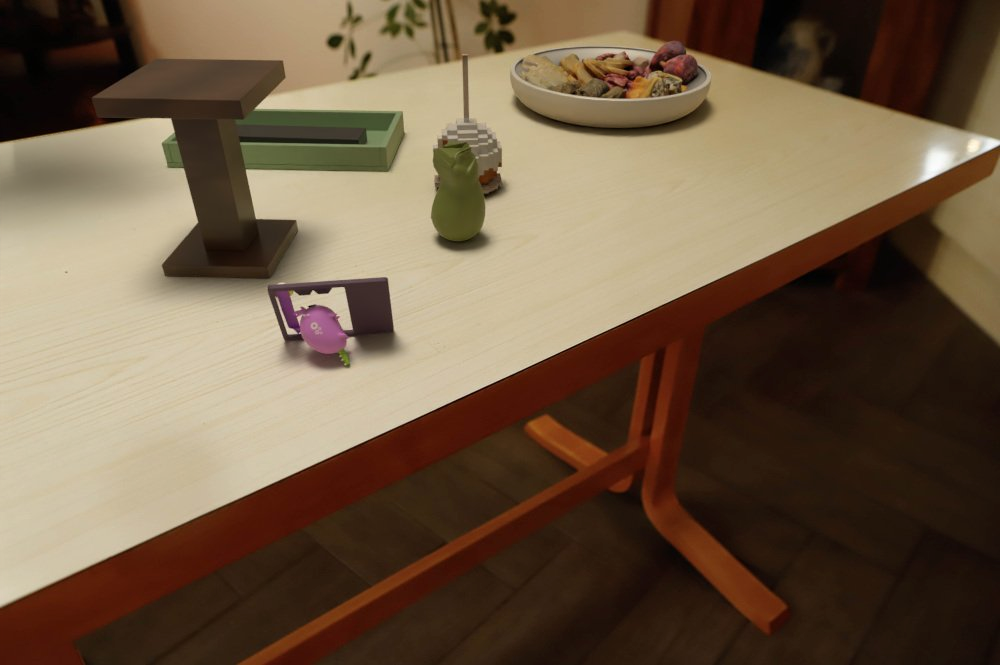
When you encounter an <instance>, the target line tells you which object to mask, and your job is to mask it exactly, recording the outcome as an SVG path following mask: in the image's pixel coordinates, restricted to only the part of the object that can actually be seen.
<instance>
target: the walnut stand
mask: <svg viewBox="0 0 1000 665" xmlns="http://www.w3.org/2000/svg"><path fill="white" fill-rule="evenodd" d="M286 78H287V77H286V72H285V65H284V60H283V59H281V60H278V59H277V60H276V59H217V58H216V59H215V58H214V59H212V58H211V59H208V58H201V59H200V58H155V59H153V60H151V61H150V62H148V63H147V64H145V65H143V66H142V67H140V68H138V69H136V70H134V71H133V72H131V73H130V74H128V75H126V76H125V77H123V78H121V79H119V80H118V81H117V82H115V83H113V84H112V85H110V86H109V87H106V88H105V89H103V90H102V91H100V92H98V93H96V94H95V95H93V96H92V97H91V101H92V104H93V108H94V110H95V114H96V117H97V118H114V119H115V118H117V119H119V118H121V119H123V118H124V119H170V121H171V124H172V127H173V128H172V129H173V133H174V132H175V136H176V139H177V143H178V147H179V151H180V155H181V159H182V162H183V166H184V167H183V170H184V173H185V178H186V181H187V186H188V189H189V194H190V196H191V201H192V204H193V208H194V212H195V216H196V220H197V223H196V224H195V225H194V226H193V227H192V228H191V230H190V232H188V234H186V236H185V237H184V238H183V239H182V241H180V243H179V244H178V245H177V246H176V248H174V249H173V251H172V252H171V253H170V254H169V256H168V257H167V258H166V259H165V261H164V262H163V263H162V264H161V268H162V271H163V275H164V276H165V277H195V278H196V277H197V278H198V277H201V278H202V277H203V278H237V279H238V278H239V279H241V278H243V279H244V278H245V279H270V278H271V276H272V275H273V273H274V271H275V270H276V268H277V267H278V265H279V263H280V261H281V260H282V258H283V256H284V255H285V253H286V251H287V249H288V248H289V246H290V244H291V242H292V241H293V239H294V237H295V236H296V234H297V232H298V231H299V228H298V222H297V219H276V218H275V219H271V218H269V219H268V218H256V213H255V208H254V203H253V198H252V193H251V189H250V184H249V179H248V174H247V168H245V164H244V159H243V154H242V150H241V145H240V140H239V135H238V130H237V126H236V121H235V120H244V119H245V118H246V117H247V116H248V115H249V114H250V113H251V112H252V111H253V110H254V109H257V107H258V106H259V105H261V103H262V102H263V101H264V100H266V98H267V97H268V96H269V95H270V94H271V93H272V92H273V91H274V90H276V88H277V87H278V86H279V85H280V84H281V83H283V81H284V80H285V79H286Z"/></svg>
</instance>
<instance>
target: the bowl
mask: <svg viewBox="0 0 1000 665" xmlns="http://www.w3.org/2000/svg"><path fill="white" fill-rule="evenodd" d="M509 79H510V80H509V81H510V85H511V88H512V90H513V92H514V94H515V96H516V98H518V100H519V101H520V102H521V103H522V104H523V105H524V106H525V107H527V108H528V109H530V110H532V111H533V112H534V113H537V114H539V115H541V116H543V117H546V118H549V119H551V120H556V121H559V122H562V123H567V124H571V125H578V126H584V127H593V128H605V129H632V128H634V129H635V128H644V127H652V126H658V125H662V124H666V123H670V122H673V121H676V120H679V119H681V118H683V117H685V116H688V115H690V114H691V113H692V112H694V111H695V110H697V108H699V107H700V106H701V104H703V102H704V101H705V100H706V98H707V96H708V94H709V91H710V88H711V84H712V73H711V72H710V70H709V69H708V68H707V67H705V66H704V65H702V64H701V63H699V62H698V61H697V59H696V58H695V57H694V56H693V55H691V54H687V50H686V48H685V45H684V44H683V43H682V42H681V41H679V40H671V41H667V42H665V43H664V44H662V45H661V46H660V47H659V48H658V49H650V48H649V49H648V48H643V47H636V46H626V45H625V46H622V45H600V44H599V45H598V44H597V45H593V44H592V45H591V44H589V45H572V46H571V45H570V46H561V47H553V48H548V49H543V50H537V51H535V52H531V53H528V54H525V55H523V56H521V57H519V58H517V59H516V60H514V61H513V62H512V64H511V65H510V68H509Z"/></svg>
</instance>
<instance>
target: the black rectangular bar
mask: <svg viewBox="0 0 1000 665" xmlns="http://www.w3.org/2000/svg"><path fill="white" fill-rule="evenodd" d="M236 126H237V130H238V135H239V140H240V142H247V143H303V144H358V145H365V143H366V142H367V133H366V128H353V127H316V126H278V125H241V124H236Z"/></svg>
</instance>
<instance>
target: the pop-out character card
mask: <svg viewBox="0 0 1000 665" xmlns="http://www.w3.org/2000/svg"><path fill="white" fill-rule="evenodd" d="M335 288H344V291H345V297H346V302H347V306H348V311H349V317H350V322H351V326H352V329H344V328H343V327H342V325H341V323H340V322H339V319H340V318H341V316H340V315H338V313H337V312H336V313H335V312H334V310H333V309H332V308H330V307H328V306H325V305H322V304H321V305H320V304H317V303H316V304H310V305H307V308H306V307H304V306H300V307H299V308H300V309H299V310H295V308H294V305H293V301H292V298H291V297H292V296H293V294H294V293H296V294H297V295H298V296H311V294H312V293H313V292H315V293H316V294H317V295H326V294H327V295H328V294H330V292H331V291H332V289H335ZM267 294H268V296H269V300H270V303H271V305H272V309H273V312H274V314H275V316H276V317H275V318H276V321H277V323H278V326H279V329H280V333H281V335H282V338H283V340H284V341H291V340H292V341H293V340H303V341H304V342H305V343H306V345H308V346H309V347H310V348H311V349H313V350H314V351H316V352H318V353H322V354H327V355H331V354H335V353H337V354H338V355H339V356H338V357H339V358H341V359H340V361H342V362H344V364H343V366H349V365H350V364H351V362H350V359H349V356H348V355H347V352H346V351H345V348H346V346H347V339H350V336H358V335H359V336H360V335H361V336H362V335H372V334H373V335H374V334H386V333H387V334H388V333H393V332H395V328H394V319H393V318H394V317H393V311H392V310H393V309H392V301H391V294H390V284H389V278H388V277H386V276H381V277H380V276H379V277H366V278H352V279H339V280H338V279H335V280H322V281H321V280H320V281H307V282H293V283H286V282H278V283H277V284H269V285H267ZM278 302H279V303H278ZM281 312H282V313H281ZM282 315H283V316H282ZM300 316H301V317H300ZM298 317H300V321H299V319H298ZM283 318H284V319H283ZM284 320H285V321H284ZM285 322H286V325H287V327H286V325H285ZM287 328H288V329H292V330H294V332H296V333H292V334H289V333H288V331H287Z"/></svg>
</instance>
